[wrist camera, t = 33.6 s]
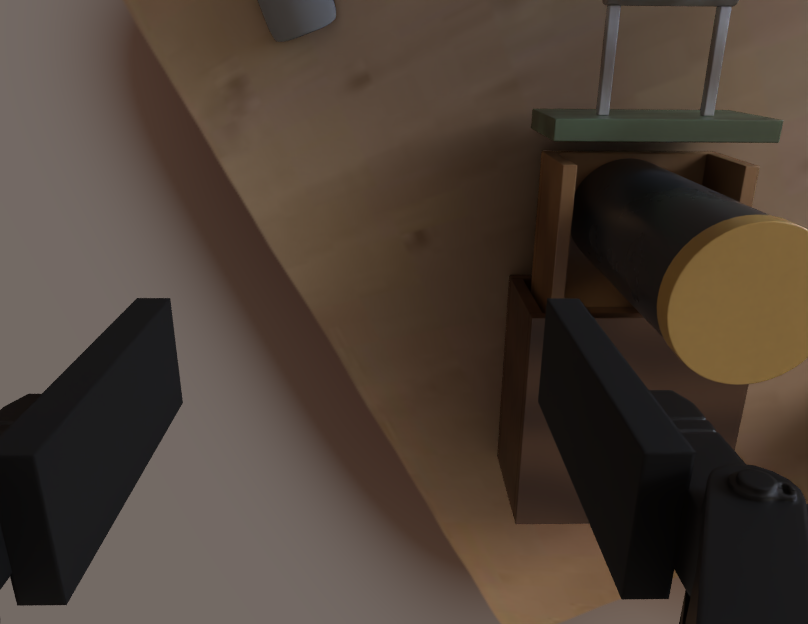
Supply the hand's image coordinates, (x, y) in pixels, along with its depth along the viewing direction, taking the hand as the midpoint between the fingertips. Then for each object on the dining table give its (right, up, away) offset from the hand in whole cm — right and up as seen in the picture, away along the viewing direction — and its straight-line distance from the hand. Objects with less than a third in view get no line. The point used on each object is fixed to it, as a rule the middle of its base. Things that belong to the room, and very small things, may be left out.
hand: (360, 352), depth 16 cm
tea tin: (+15, +7, +28) cm, 32 cm away
